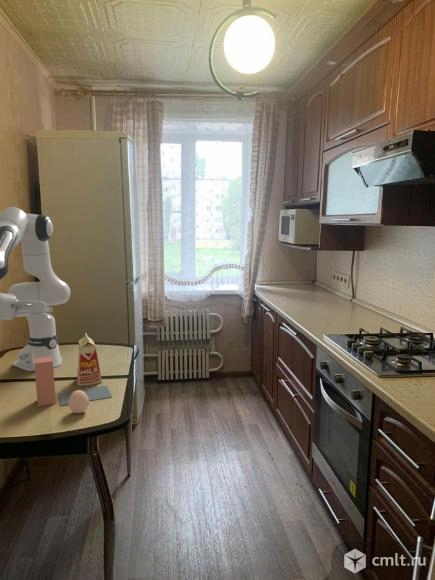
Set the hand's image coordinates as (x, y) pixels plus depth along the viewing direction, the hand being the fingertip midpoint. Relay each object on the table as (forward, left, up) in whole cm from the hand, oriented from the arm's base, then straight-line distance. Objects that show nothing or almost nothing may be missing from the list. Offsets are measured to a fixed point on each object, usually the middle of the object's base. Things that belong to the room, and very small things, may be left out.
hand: (45, 311), depth 148 cm
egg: (+18, -4, -34) cm, 38 cm away
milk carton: (0, +19, -34) cm, 39 cm away
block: (0, -3, -33) cm, 33 cm away
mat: (+9, +7, -33) cm, 35 cm away
